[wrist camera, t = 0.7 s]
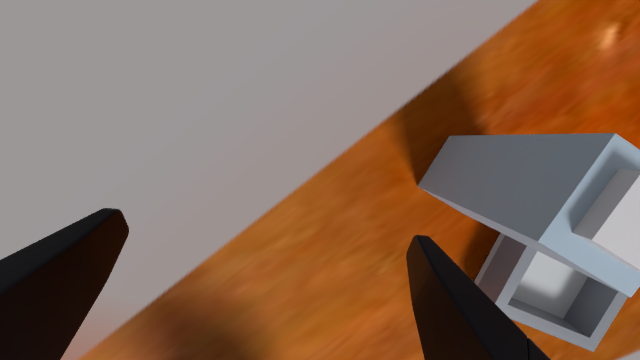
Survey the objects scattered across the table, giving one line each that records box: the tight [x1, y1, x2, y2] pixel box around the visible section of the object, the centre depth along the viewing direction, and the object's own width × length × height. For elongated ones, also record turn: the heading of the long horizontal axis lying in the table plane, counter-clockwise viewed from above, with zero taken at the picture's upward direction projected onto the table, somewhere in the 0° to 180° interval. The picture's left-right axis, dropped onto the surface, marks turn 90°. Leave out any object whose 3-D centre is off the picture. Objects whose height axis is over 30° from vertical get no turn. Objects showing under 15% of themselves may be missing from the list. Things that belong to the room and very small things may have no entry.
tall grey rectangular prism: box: [418, 133, 640, 298], centre depth 17 cm, size 5×5×14 cm
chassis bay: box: [474, 233, 628, 352], centre depth 24 cm, size 10×10×3 cm
